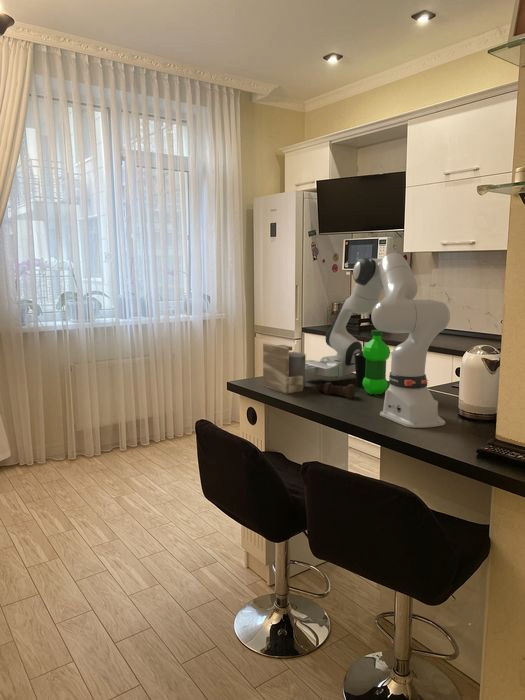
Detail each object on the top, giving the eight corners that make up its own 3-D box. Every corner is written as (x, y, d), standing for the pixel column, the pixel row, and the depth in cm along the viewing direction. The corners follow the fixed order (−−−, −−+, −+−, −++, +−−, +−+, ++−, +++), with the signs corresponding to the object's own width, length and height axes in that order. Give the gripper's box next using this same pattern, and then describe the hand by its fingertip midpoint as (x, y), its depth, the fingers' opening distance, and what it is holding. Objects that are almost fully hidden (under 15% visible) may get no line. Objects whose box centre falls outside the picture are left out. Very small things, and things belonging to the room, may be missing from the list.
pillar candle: (277, 385, 225) (277, 350, 222) (297, 382, 229) (297, 348, 226) (289, 390, 216) (290, 354, 213) (309, 387, 221) (310, 352, 218)
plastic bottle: (363, 396, 207) (365, 332, 203) (360, 389, 217) (362, 328, 213) (389, 396, 206) (392, 332, 202) (385, 390, 217) (387, 328, 212)
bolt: (319, 396, 215) (353, 401, 206) (313, 392, 211) (347, 397, 202) (323, 382, 217) (356, 386, 207) (317, 378, 213) (351, 382, 204)
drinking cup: (351, 387, 221) (353, 339, 217) (354, 383, 228) (355, 337, 225) (370, 389, 219) (372, 340, 215) (372, 384, 226) (374, 337, 222)
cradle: (280, 383, 228) (280, 341, 225) (303, 391, 215) (304, 346, 212) (263, 385, 224) (263, 343, 221) (285, 393, 210) (285, 348, 207)
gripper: (313, 355, 239) (288, 358, 232) (344, 363, 223) (318, 366, 215) (313, 369, 241) (288, 373, 233) (344, 377, 224) (318, 382, 216)
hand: (303, 370), depth 224 cm, fingers closed, pressing on pillar candle
